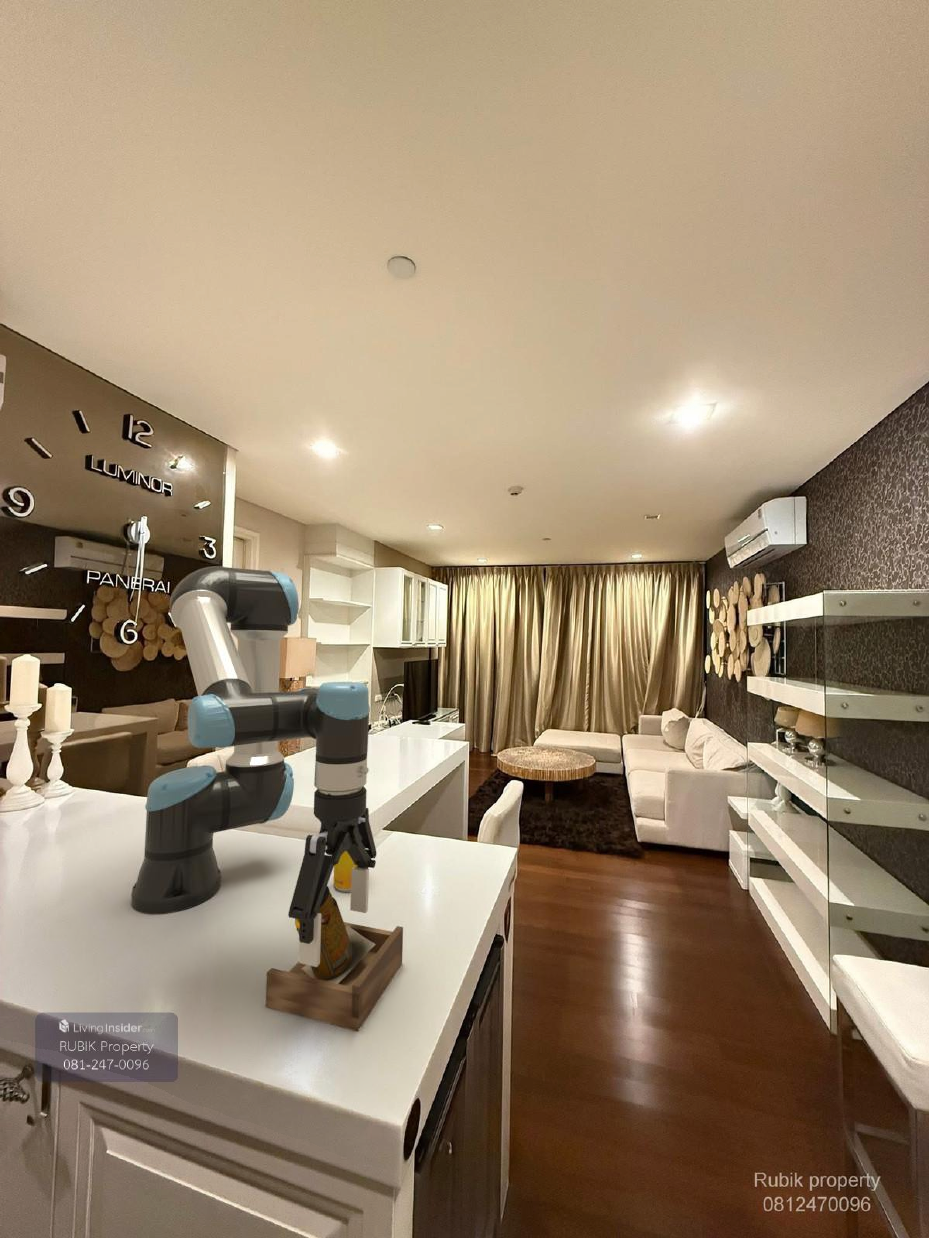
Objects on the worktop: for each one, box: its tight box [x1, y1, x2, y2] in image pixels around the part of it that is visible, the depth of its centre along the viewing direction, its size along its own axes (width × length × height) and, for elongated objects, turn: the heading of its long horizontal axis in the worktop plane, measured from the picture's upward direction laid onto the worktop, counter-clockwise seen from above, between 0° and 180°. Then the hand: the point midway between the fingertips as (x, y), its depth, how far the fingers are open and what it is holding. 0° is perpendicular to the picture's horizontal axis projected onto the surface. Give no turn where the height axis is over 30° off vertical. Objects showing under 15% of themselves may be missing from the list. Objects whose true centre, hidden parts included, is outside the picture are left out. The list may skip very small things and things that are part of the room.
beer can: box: [333, 850, 357, 893], centre depth 101 cm, size 6×6×15 cm
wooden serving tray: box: [264, 921, 404, 1032], centre depth 72 cm, size 14×14×6 cm
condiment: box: [294, 885, 376, 984], centre depth 72 cm, size 7×8×12 cm
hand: (336, 934), depth 73 cm, fingers open, 13 cm apart
